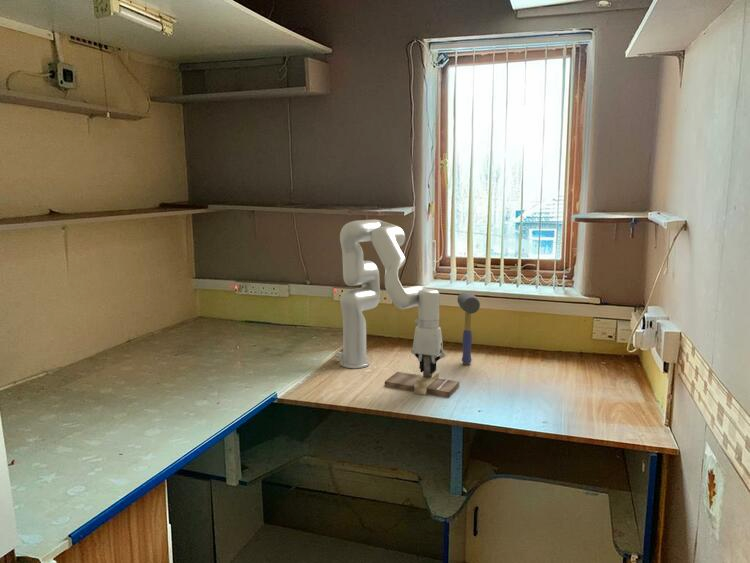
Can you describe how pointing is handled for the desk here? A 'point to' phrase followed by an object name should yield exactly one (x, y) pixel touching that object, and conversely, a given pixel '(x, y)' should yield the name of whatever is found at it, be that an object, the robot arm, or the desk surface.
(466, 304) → the rubber mallet
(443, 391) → the walnut board
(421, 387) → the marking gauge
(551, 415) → the desk surface
